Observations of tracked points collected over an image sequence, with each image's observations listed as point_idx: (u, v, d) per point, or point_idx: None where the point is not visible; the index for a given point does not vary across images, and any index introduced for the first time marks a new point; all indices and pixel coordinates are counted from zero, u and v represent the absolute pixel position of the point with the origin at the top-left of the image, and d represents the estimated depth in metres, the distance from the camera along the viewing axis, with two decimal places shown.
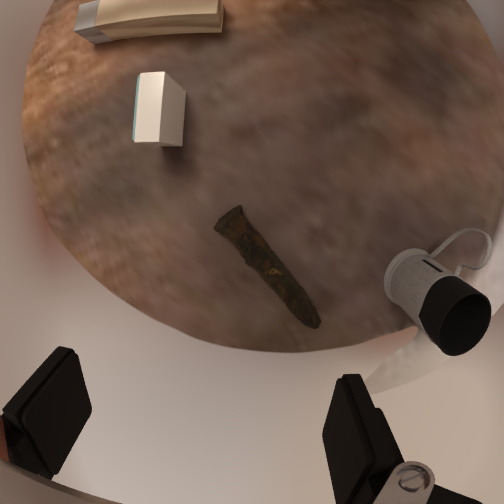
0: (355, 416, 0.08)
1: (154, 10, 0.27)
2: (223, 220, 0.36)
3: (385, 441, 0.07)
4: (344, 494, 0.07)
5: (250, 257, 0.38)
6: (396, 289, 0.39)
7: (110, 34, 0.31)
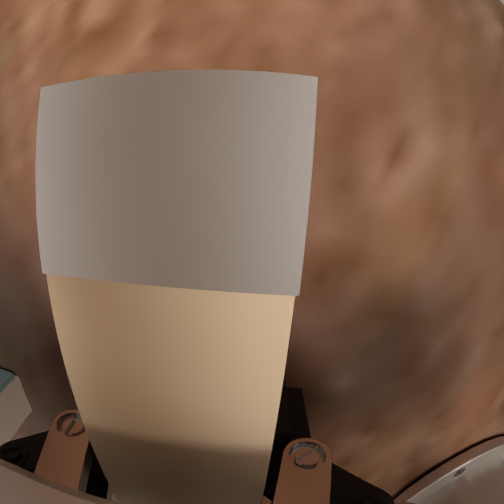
0: None
1: None
2: None
3: (288, 415, 0.08)
4: None
5: None
6: None
7: None
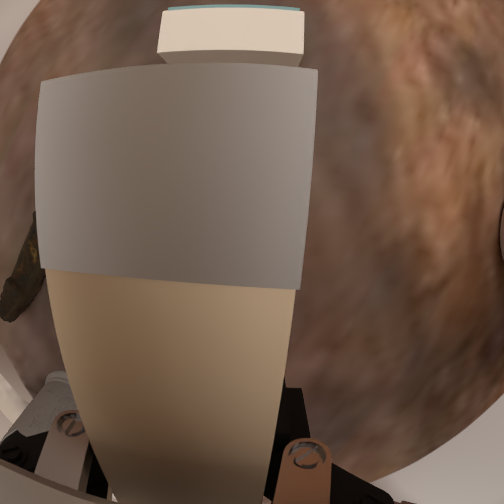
0: None
1: None
2: None
3: (288, 415, 0.08)
4: None
5: None
6: (49, 392, 0.27)
7: None
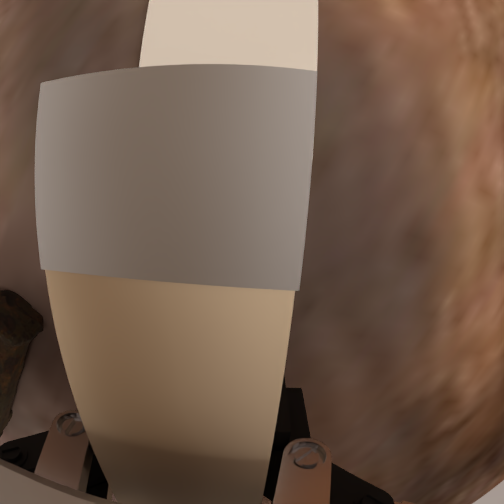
0: None
1: None
2: None
3: (287, 415, 0.08)
4: None
5: None
6: None
7: None
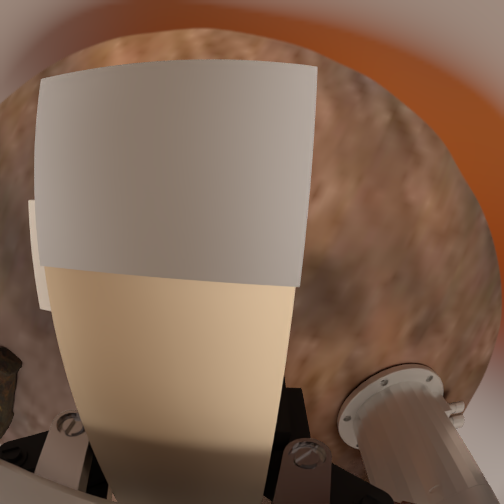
0: None
1: None
2: None
3: (288, 415, 0.08)
4: None
5: None
6: None
7: None
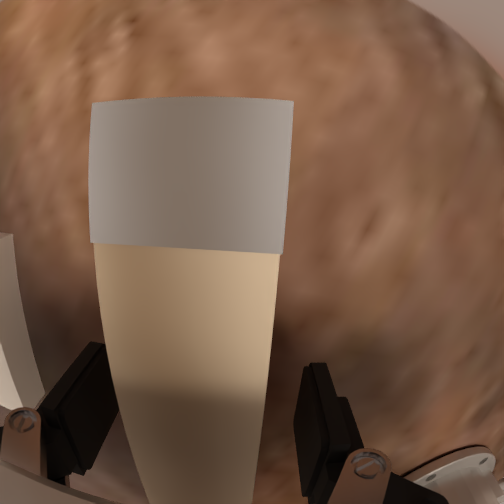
0: (316, 402, 0.08)
1: (164, 471, 0.09)
2: None
3: (344, 427, 0.07)
4: (306, 479, 0.08)
5: None
6: None
7: None
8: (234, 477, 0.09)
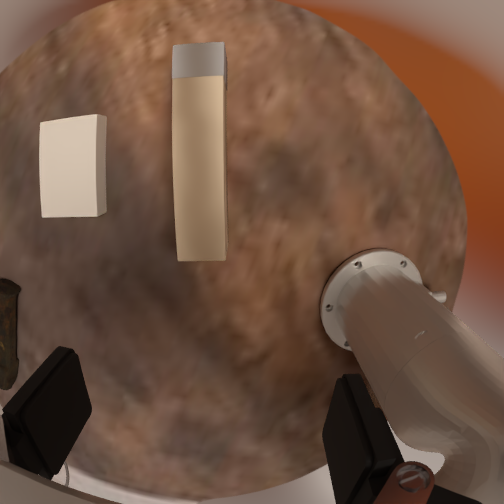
0: (355, 416, 0.08)
1: (185, 172, 0.24)
2: None
3: (385, 440, 0.07)
4: (344, 494, 0.07)
5: None
6: None
7: None
8: (214, 169, 0.24)
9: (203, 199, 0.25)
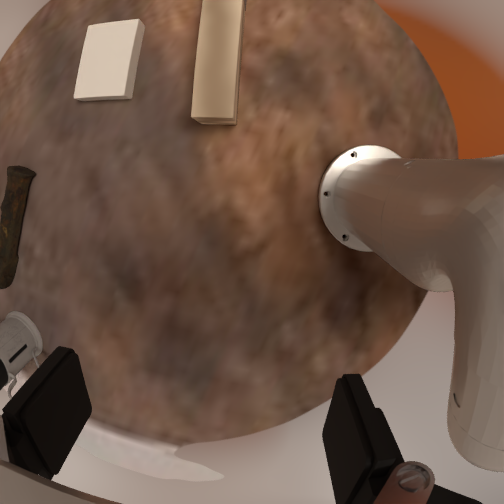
0: (355, 416, 0.08)
1: (207, 48, 0.26)
2: (11, 170, 0.32)
3: (385, 441, 0.07)
4: (344, 494, 0.07)
5: (3, 207, 0.33)
6: (4, 323, 0.38)
7: None
8: (231, 47, 0.26)
9: (219, 68, 0.27)
